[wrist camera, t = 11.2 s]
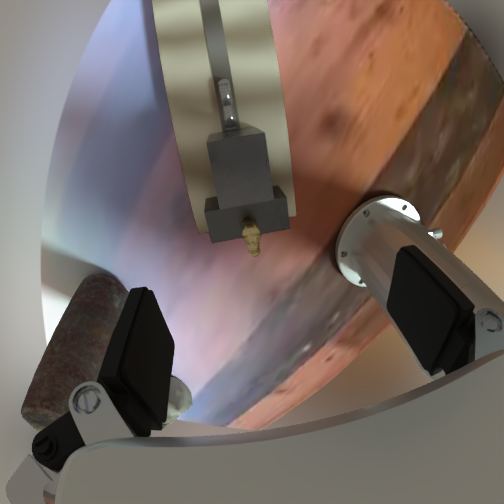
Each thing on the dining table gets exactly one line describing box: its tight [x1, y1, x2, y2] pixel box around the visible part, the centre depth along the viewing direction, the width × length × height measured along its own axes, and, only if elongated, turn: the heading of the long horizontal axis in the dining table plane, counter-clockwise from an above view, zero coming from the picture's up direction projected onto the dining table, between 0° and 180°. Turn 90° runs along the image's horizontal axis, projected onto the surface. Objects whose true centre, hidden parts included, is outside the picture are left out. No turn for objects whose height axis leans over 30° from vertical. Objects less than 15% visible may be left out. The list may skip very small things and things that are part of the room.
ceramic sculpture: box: [162, 377, 192, 428], centre depth 40 cm, size 11×9×15 cm
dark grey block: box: [206, 79, 274, 210], centre depth 20 cm, size 10×4×6 cm, turn 8°
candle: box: [21, 274, 129, 431], centre depth 23 cm, size 8×7×20 cm
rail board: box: [152, 0, 296, 234], centre depth 22 cm, size 26×10×2 cm, turn 8°
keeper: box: [204, 186, 290, 257], centre depth 24 cm, size 4×7×6 cm, turn 98°
